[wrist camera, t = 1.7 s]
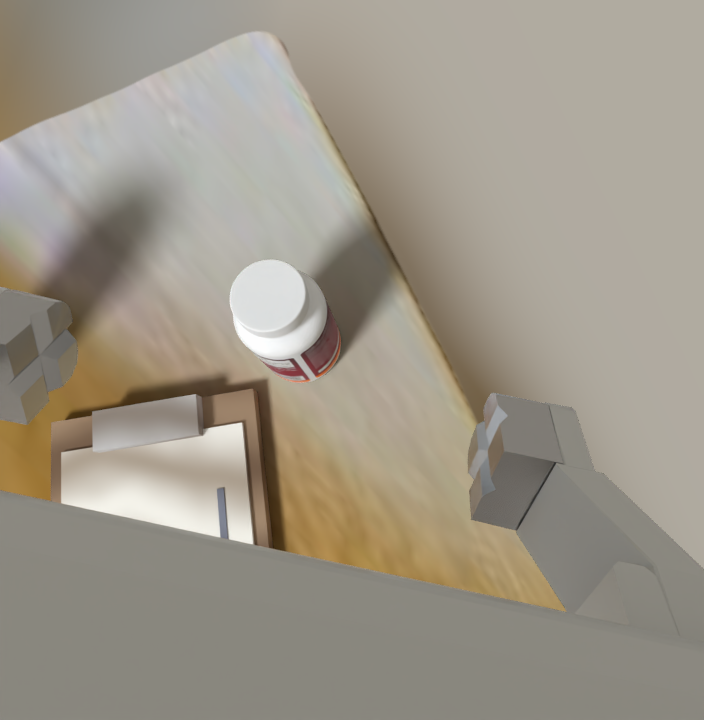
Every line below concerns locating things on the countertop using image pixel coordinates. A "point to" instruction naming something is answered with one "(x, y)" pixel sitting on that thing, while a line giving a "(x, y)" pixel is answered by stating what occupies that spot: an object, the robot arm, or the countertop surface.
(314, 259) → the countertop surface
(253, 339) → the pill bottle
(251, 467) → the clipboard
